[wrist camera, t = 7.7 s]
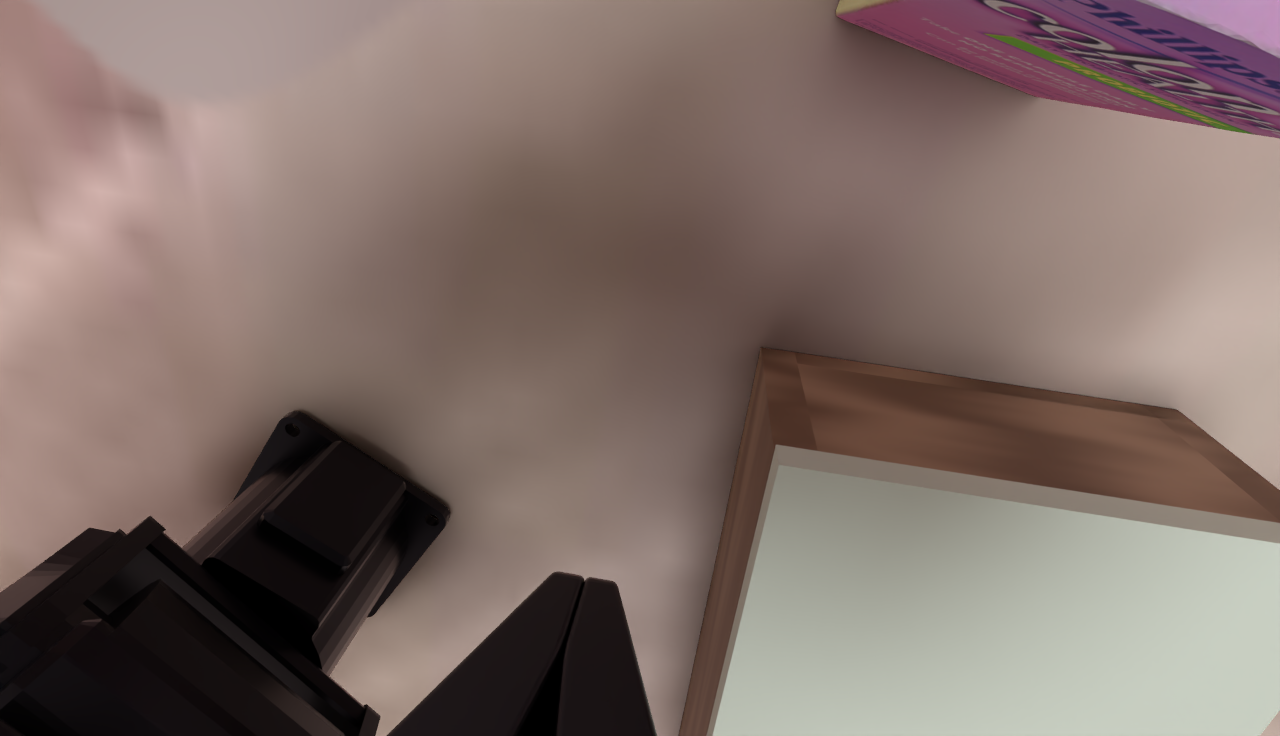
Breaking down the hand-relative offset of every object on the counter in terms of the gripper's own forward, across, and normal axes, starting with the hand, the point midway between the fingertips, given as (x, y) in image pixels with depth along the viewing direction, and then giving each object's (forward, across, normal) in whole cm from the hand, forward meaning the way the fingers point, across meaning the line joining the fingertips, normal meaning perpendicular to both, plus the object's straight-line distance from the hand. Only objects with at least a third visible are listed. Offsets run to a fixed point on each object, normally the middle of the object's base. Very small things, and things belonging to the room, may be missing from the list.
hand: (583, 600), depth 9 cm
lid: (+6, -9, +10) cm, 15 cm away
